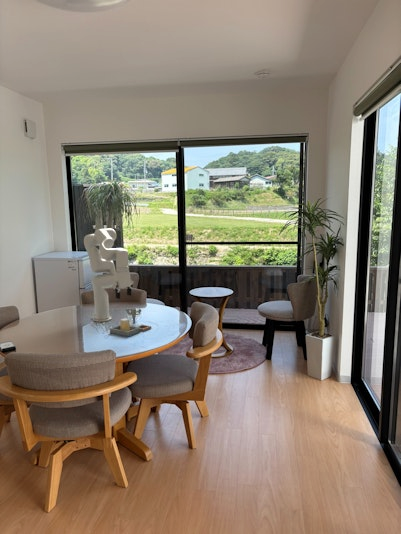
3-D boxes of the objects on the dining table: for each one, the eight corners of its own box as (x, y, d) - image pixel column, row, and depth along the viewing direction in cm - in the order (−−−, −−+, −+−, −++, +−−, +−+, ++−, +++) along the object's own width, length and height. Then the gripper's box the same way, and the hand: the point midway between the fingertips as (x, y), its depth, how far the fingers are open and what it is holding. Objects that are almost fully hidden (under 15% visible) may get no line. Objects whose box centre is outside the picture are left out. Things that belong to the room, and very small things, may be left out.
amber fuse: (120, 332, 250) (120, 319, 249) (125, 330, 253) (125, 318, 252) (125, 333, 248) (124, 320, 246) (130, 331, 251) (129, 319, 250)
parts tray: (110, 333, 250) (109, 328, 250) (122, 328, 259) (122, 324, 259) (127, 337, 242) (127, 332, 242) (140, 332, 251) (139, 327, 251)
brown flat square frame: (134, 329, 256) (134, 327, 256) (142, 326, 262) (142, 324, 262) (143, 331, 252) (143, 329, 252) (151, 328, 258) (151, 326, 258)
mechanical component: (140, 324, 268) (140, 309, 266) (126, 323, 270) (125, 309, 268) (142, 323, 271) (141, 308, 269) (127, 322, 273) (127, 308, 271)
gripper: (128, 267, 255) (129, 293, 258) (107, 271, 241) (109, 299, 244) (136, 268, 251) (137, 294, 254) (116, 272, 237) (117, 300, 240)
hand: (123, 296), depth 249 cm, fingers open, 9 cm apart
